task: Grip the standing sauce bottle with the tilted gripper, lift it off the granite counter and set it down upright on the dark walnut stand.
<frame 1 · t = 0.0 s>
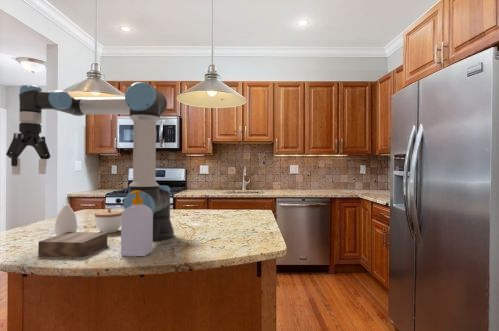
hand: (29, 174, 125), 28 cm above the countertop, tool pointing down, fingers open, 13 cm apart
lidded bowl: (109, 231, 145), on the countertop
walnut stand: (75, 250, 112), on the countertop
sauce bottle: (66, 242, 125), on the countertop
soap bottle: (136, 254, 108), on the countertop
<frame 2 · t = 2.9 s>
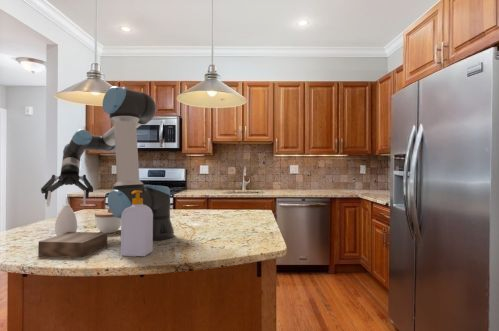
hand: (66, 203, 131), 15 cm above the countertop, tool tilted 45°, fingers open, 13 cm apart
nothing on the countertop moved.
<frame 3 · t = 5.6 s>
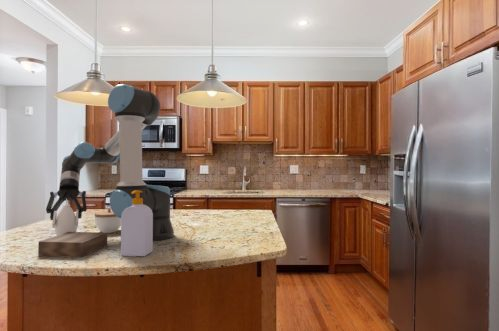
hand: (65, 224, 122), 8 cm above the countertop, tool tilted 45°, fingers closed on sauce bottle, 7 cm apart
sauce bottle: (66, 242, 125), on the countertop, touching gripper
everything else where it was.
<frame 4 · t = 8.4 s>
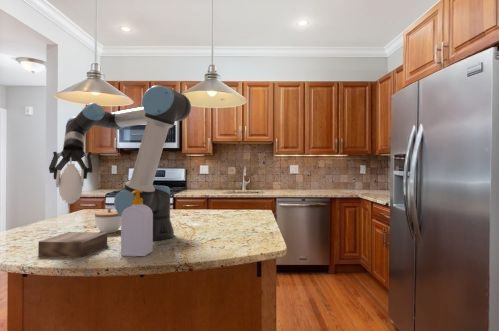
hand: (69, 184, 113), 25 cm above the countertop, tool tilted 45°, fingers closed on sauce bottle, 7 cm apart
sauce bottle: (70, 203, 116), point 17 cm above the countertop, touching gripper
everything else where it was.
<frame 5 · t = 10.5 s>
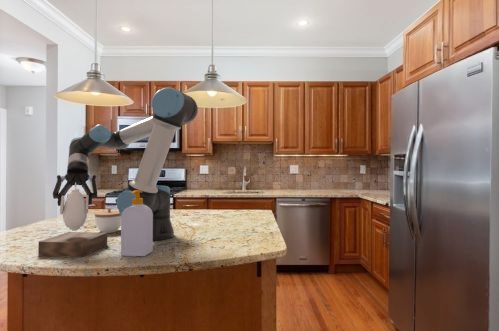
hand: (74, 211, 109), 15 cm above the countertop, tool tilted 45°, fingers closed on sauce bottle, 7 cm apart
sauce bottle: (74, 230, 112), point 7 cm above the countertop, touching gripper
everything else where it was.
when the fingers open (14 cm above the countertop, at t = 11.6 s): sauce bottle drops 1 cm, resting on walnut stand.
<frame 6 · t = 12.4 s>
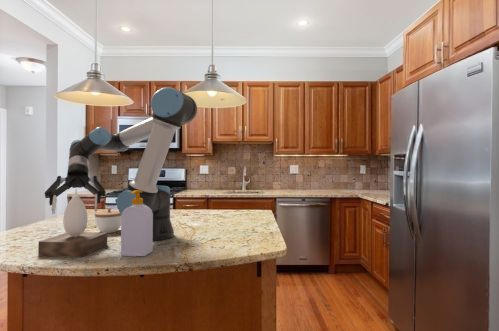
hand: (75, 210, 110), 15 cm above the countertop, tool tilted 45°, fingers open, 13 cm apart
sauce bottle: (75, 237, 112), point 5 cm above the countertop, touching walnut stand
everything else where it was.
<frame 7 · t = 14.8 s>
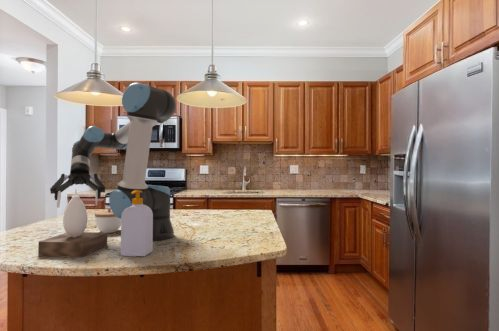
hand: (77, 204, 122), 16 cm above the countertop, tool tilted 45°, fingers open, 13 cm apart
nothing on the countertop moved.
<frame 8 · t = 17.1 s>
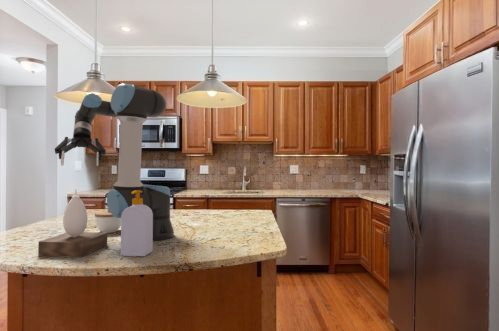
hand: (80, 163, 132), 33 cm above the countertop, tool tilted 45°, fingers open, 13 cm apart
nothing on the countertop moved.
at the end: sauce bottle inside the target area on the walnut stand (0.1 cm from its centre), point 4.8 cm above the walnut stand's base; sauce bottle tilted 0°; the gripper is holding nothing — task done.
